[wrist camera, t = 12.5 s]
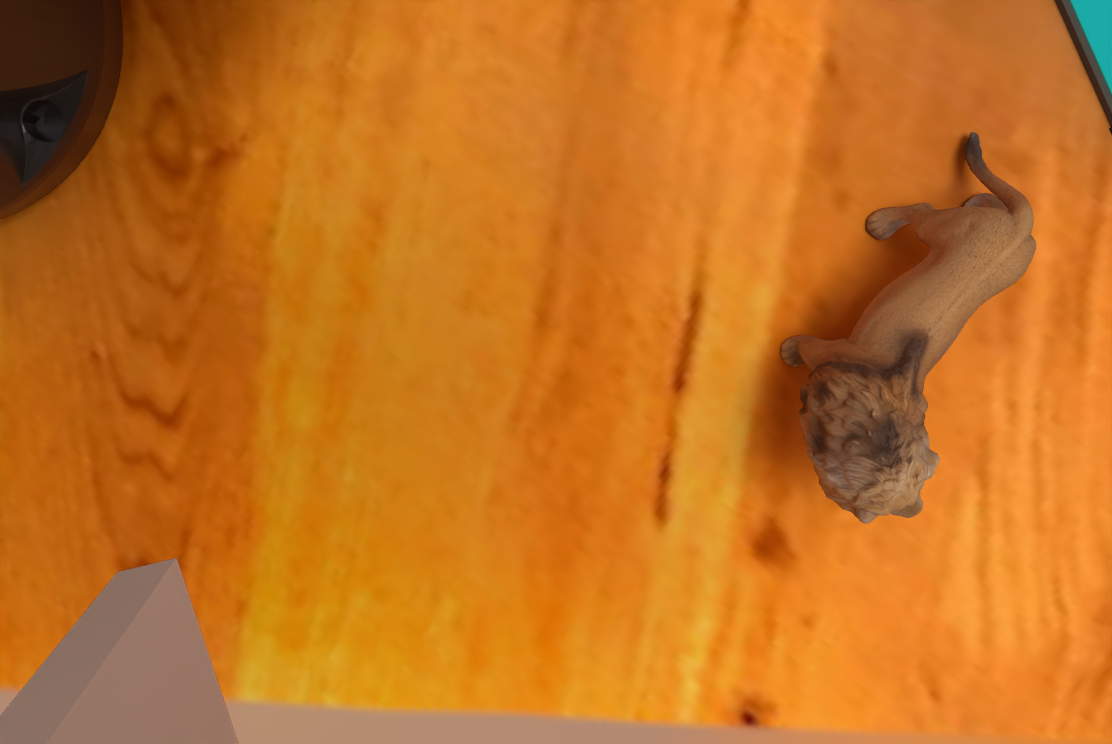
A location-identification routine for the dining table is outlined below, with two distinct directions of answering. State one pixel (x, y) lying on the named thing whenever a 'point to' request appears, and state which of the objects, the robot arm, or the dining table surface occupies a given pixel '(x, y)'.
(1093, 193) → the dining table surface
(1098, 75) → the smartphone
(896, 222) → the lion figurine
